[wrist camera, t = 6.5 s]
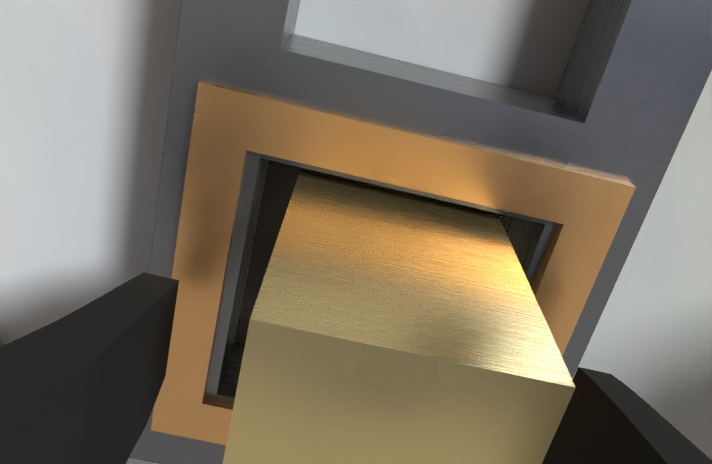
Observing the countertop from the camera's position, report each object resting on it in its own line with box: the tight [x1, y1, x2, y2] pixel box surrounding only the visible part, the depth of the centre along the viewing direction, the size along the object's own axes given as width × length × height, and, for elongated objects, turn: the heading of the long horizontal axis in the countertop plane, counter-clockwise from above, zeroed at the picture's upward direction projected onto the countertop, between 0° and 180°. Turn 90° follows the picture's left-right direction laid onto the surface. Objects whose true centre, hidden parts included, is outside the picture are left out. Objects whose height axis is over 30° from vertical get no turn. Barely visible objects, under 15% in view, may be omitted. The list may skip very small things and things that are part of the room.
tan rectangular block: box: [223, 168, 576, 464], centre depth 12 cm, size 4×4×7 cm
